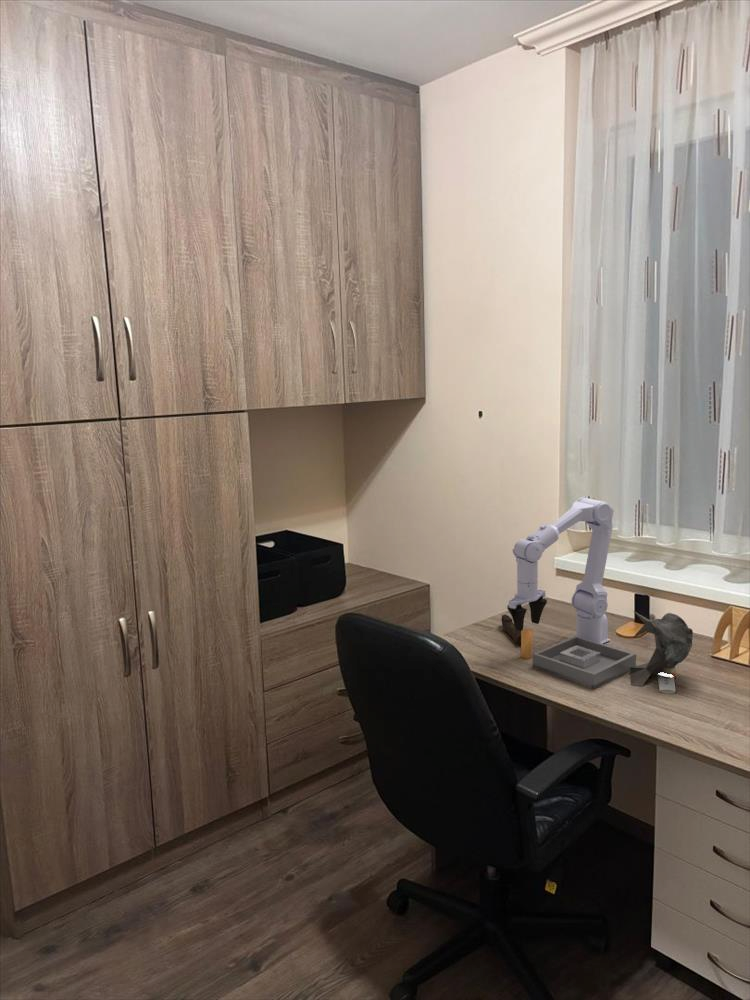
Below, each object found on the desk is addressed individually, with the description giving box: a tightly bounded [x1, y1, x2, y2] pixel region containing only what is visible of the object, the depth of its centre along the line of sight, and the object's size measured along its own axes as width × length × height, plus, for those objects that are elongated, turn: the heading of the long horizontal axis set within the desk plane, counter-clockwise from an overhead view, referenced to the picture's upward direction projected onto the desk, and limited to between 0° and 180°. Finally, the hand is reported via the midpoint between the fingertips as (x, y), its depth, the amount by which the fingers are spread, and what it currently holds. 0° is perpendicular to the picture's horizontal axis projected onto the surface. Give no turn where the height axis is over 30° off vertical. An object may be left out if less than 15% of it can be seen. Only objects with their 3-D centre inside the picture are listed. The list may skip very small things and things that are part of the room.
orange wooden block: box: [520, 628, 534, 660], centre depth 219 cm, size 3×3×8 cm
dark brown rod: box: [501, 614, 521, 648], centre depth 236 cm, size 19×4×5 cm, turn 7°
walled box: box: [532, 635, 637, 690], centre depth 210 cm, size 20×20×4 cm
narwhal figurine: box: [629, 610, 694, 687], centre depth 201 cm, size 14×15×18 cm
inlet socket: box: [560, 645, 601, 669], centre depth 212 cm, size 8×8×2 cm
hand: (527, 626), depth 217 cm, fingers open, 7 cm apart
